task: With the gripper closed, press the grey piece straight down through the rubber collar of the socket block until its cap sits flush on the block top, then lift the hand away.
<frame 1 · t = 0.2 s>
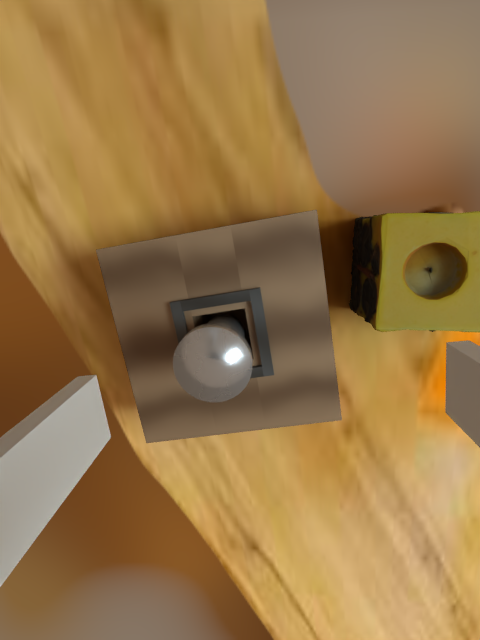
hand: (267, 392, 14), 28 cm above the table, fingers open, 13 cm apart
candle: (397, 264, 39), on the table
grey piece: (219, 348, 31), point 11 cm above the table, slide at 6.0 cm
socket block: (231, 317, 42), on the table
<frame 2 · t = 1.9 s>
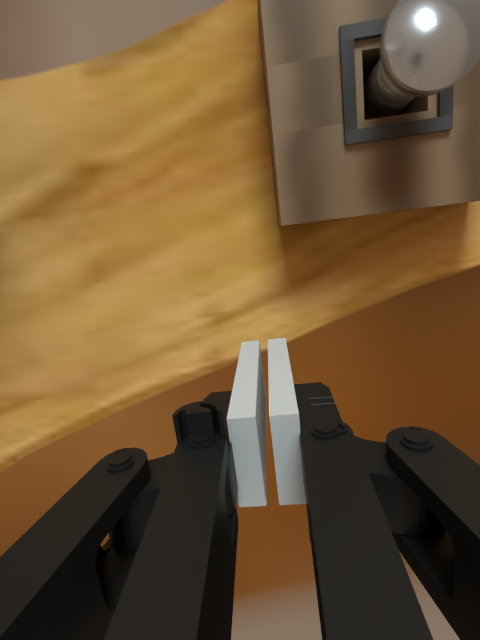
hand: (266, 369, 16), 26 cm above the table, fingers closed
grey piece: (409, 64, 26), point 11 cm above the table, slide at 6.0 cm
socket block: (367, 112, 36), on the table
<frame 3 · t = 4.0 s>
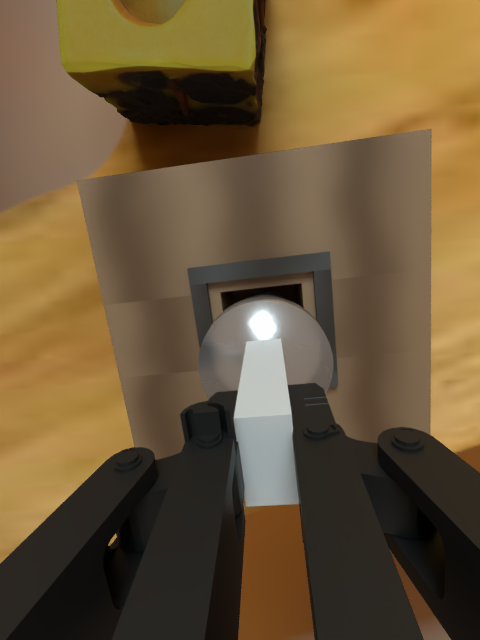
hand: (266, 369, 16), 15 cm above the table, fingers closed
candle: (196, 52, 26), on the table
grey piece: (264, 339, 20), point 11 cm above the table, slide at 5.5 cm, touching gripper
socket block: (264, 301, 30), on the table
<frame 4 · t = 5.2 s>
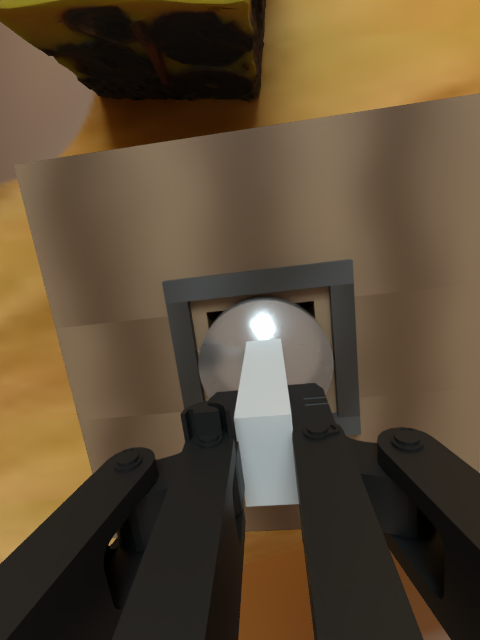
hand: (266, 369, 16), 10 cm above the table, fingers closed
candle: (179, 7, 21), on the table
grey piece: (264, 339, 20), point 5 cm above the table, slide at 0.1 cm, touching gripper
socket block: (264, 317, 25), on the table
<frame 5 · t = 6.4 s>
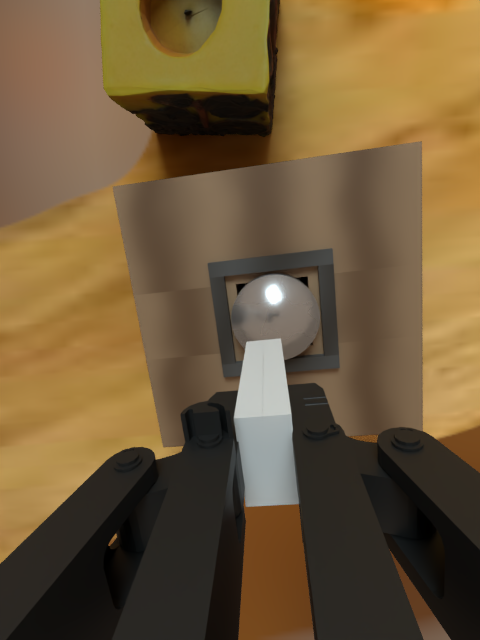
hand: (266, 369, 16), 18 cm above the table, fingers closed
candle: (214, 70, 30), on the table
grey piece: (274, 306, 28), point 5 cm above the table, slide at 0.0 cm
socket block: (274, 294, 33), on the table
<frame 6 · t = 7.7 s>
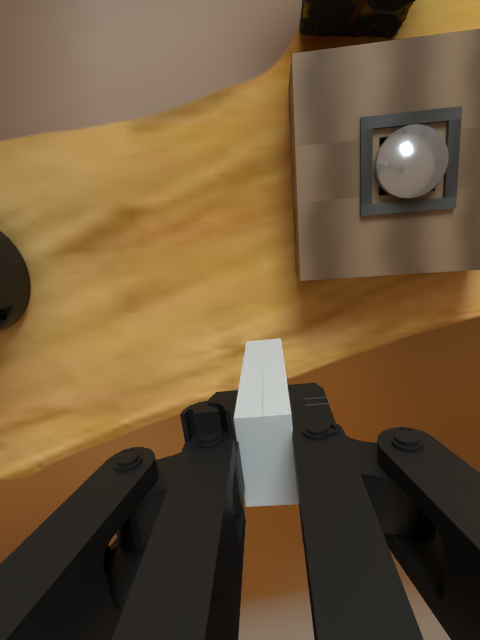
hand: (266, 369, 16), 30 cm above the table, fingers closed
grey piece: (396, 169, 36), point 5 cm above the table, slide at 0.0 cm
socket block: (382, 177, 40), on the table
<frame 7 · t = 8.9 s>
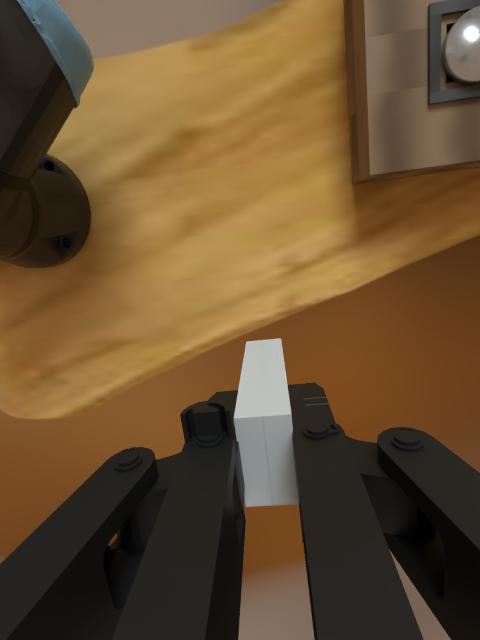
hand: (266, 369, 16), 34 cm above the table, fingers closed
grey piece: (457, 63, 37), point 5 cm above the table, slide at 0.0 cm
socket block: (435, 82, 42), on the table
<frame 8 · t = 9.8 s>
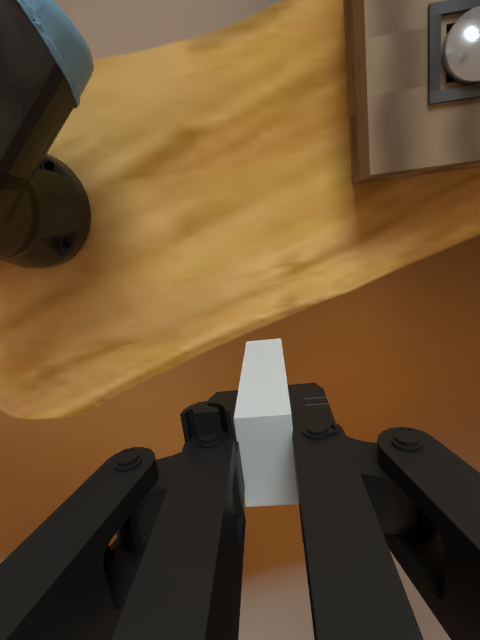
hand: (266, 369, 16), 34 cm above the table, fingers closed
grey piece: (457, 63, 37), point 5 cm above the table, slide at 0.0 cm
socket block: (435, 82, 42), on the table
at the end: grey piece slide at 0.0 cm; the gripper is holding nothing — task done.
